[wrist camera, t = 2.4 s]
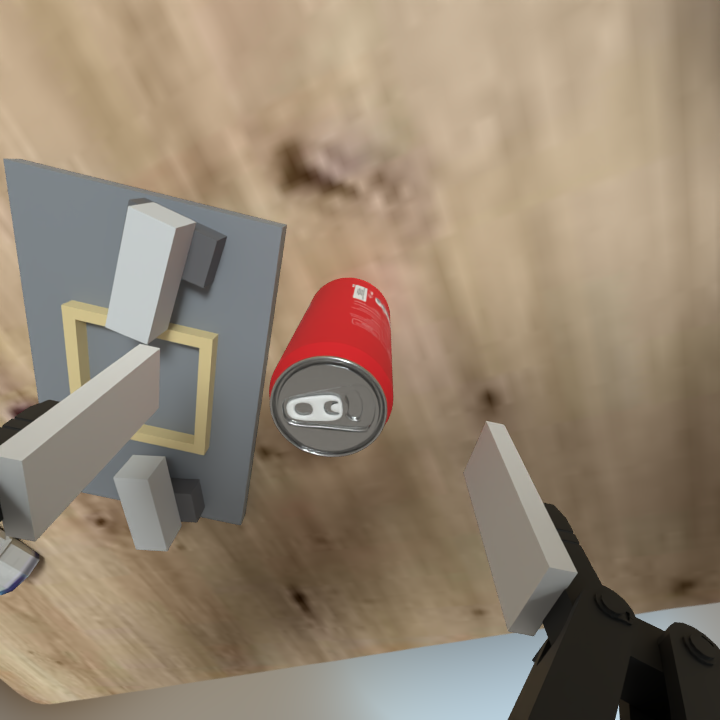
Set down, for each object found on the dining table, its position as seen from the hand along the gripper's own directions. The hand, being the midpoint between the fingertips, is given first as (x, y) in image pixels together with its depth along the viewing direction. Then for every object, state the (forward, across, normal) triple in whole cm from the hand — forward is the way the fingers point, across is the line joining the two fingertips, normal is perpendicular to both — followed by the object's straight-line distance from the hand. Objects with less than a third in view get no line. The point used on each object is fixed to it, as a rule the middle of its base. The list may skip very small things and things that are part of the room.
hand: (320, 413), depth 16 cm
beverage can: (+12, 0, 0) cm, 12 cm away
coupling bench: (+12, -13, -8) cm, 19 cm away
